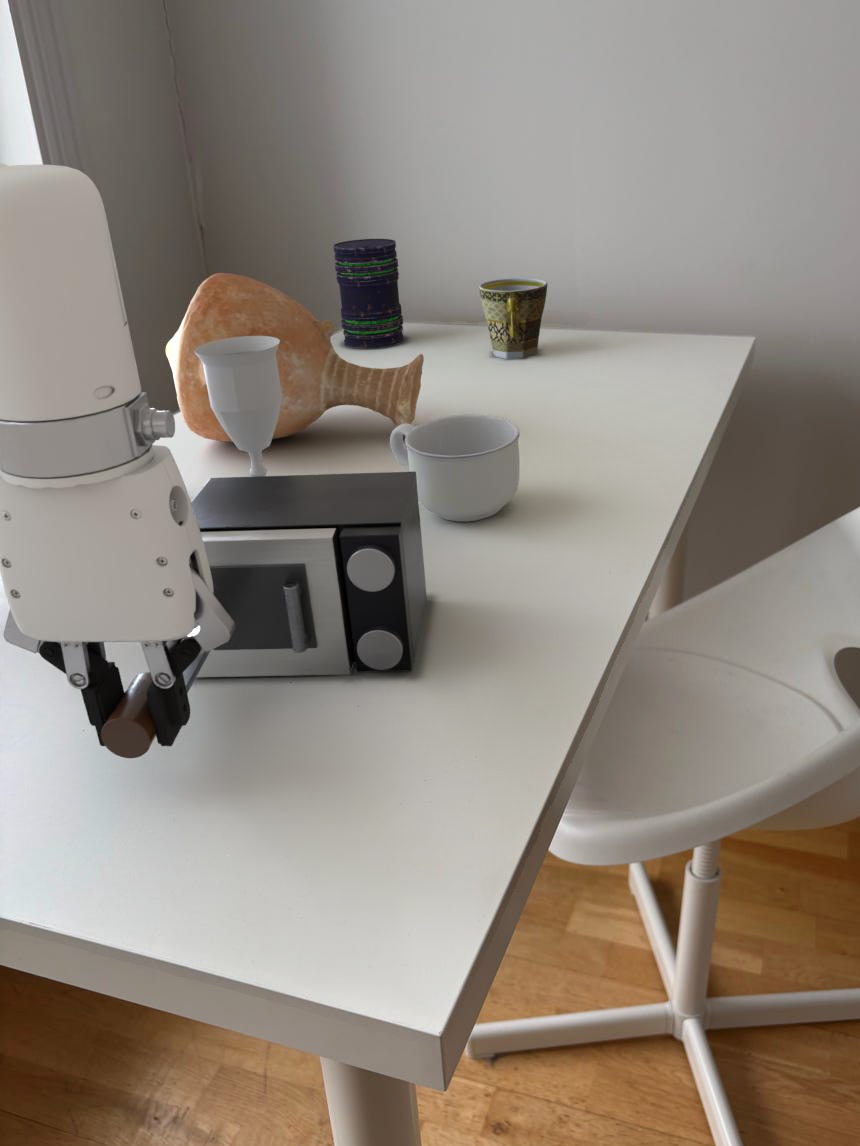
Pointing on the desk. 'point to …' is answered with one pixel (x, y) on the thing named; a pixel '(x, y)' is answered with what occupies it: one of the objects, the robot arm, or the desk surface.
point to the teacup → (461, 463)
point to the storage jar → (369, 293)
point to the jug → (281, 359)
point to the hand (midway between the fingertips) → (144, 730)
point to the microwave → (344, 546)
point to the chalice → (244, 391)
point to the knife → (138, 715)
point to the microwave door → (279, 603)
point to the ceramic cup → (514, 315)
